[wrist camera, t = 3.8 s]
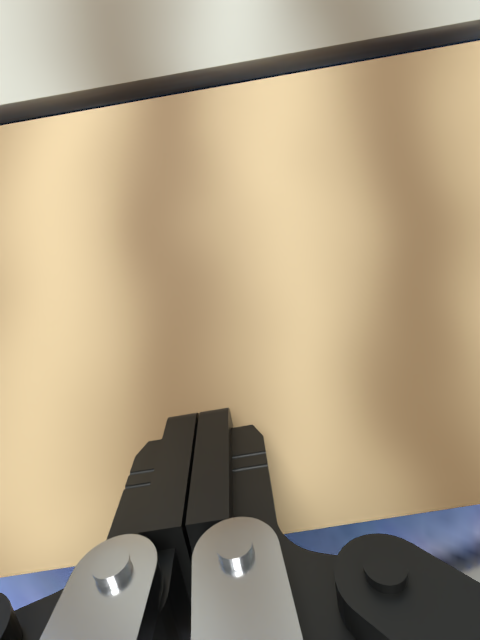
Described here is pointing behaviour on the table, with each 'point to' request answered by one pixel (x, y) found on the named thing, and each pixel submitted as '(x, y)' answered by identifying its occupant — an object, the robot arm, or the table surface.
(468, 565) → the table surface
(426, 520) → the table surface
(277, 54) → the grey-washed plank
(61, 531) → the honey oak plank
